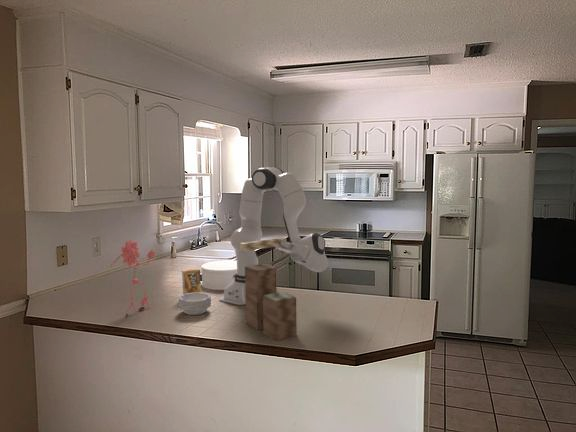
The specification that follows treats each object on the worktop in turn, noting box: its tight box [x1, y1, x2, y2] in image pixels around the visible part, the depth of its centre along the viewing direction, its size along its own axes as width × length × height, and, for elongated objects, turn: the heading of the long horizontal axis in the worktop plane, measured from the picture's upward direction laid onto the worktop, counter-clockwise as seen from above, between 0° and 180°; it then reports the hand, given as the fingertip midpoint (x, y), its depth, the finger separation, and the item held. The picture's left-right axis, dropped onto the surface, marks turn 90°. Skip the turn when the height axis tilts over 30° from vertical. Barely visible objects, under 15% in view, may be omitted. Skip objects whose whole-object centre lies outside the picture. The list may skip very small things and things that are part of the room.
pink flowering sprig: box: [110, 239, 160, 315], centre depth 232 cm, size 15×26×35 cm, turn 156°
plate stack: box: [200, 259, 237, 291], centre depth 282 cm, size 28×28×12 cm
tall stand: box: [245, 263, 277, 331], centre depth 209 cm, size 10×10×26 cm
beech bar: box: [240, 237, 288, 251], centre depth 207 cm, size 22×3×3 cm, turn 124°
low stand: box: [263, 291, 298, 341], centre depth 197 cm, size 10×10×17 cm
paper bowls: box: [178, 292, 212, 316], centre depth 229 cm, size 15×15×8 cm
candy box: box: [181, 268, 202, 295], centre depth 252 cm, size 9×4×15 cm, turn 119°
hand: (277, 241), depth 211 cm, fingers closed on beech bar, 3 cm apart
